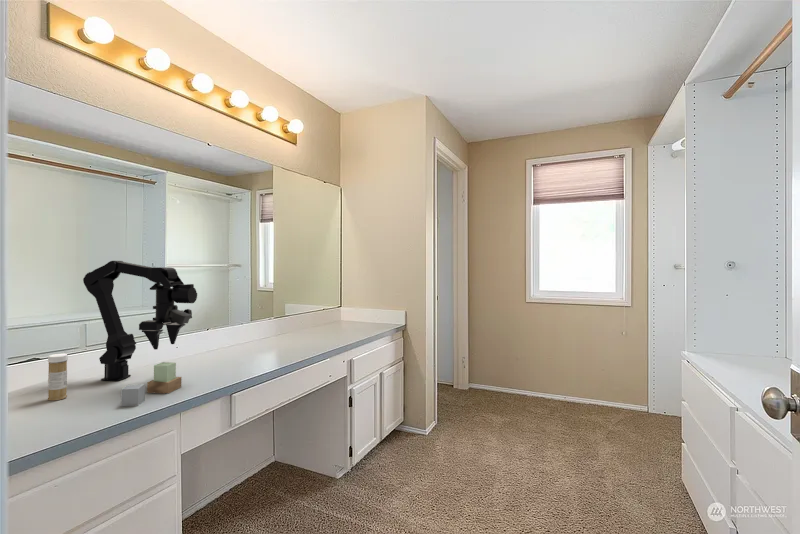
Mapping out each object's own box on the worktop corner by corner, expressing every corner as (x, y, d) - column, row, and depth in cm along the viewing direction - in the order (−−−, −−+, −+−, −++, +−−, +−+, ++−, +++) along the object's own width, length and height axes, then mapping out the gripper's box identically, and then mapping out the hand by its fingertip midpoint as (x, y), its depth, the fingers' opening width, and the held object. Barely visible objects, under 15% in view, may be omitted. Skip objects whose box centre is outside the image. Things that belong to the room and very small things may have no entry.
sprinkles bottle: (54, 396, 126) (55, 353, 125) (70, 396, 126) (71, 352, 126) (43, 401, 121) (43, 356, 121) (59, 401, 121) (60, 356, 121)
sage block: (153, 380, 132) (153, 365, 132) (162, 377, 136) (163, 362, 136) (166, 381, 131) (167, 366, 131) (175, 377, 136) (175, 362, 136)
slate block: (121, 406, 118) (121, 389, 118) (128, 401, 123) (128, 384, 122) (138, 405, 119) (138, 388, 119) (144, 400, 123) (144, 384, 123)
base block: (147, 392, 130) (147, 381, 130) (161, 386, 137) (161, 375, 137) (168, 393, 130) (168, 382, 130) (181, 387, 137) (181, 376, 137)
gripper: (170, 306, 134) (169, 353, 134) (201, 300, 153) (201, 342, 153) (138, 305, 135) (137, 352, 135) (173, 300, 153) (172, 341, 154)
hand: (164, 346), depth 144 cm, fingers open, 9 cm apart
